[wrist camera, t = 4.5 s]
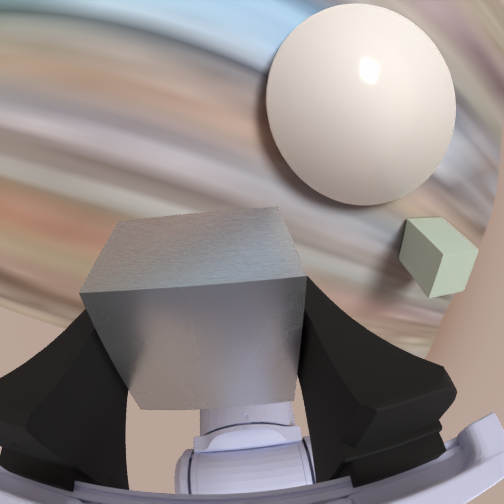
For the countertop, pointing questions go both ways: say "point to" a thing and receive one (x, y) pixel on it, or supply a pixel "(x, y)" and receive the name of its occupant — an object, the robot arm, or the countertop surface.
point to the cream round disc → (360, 104)
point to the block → (437, 256)
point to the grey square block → (201, 308)
